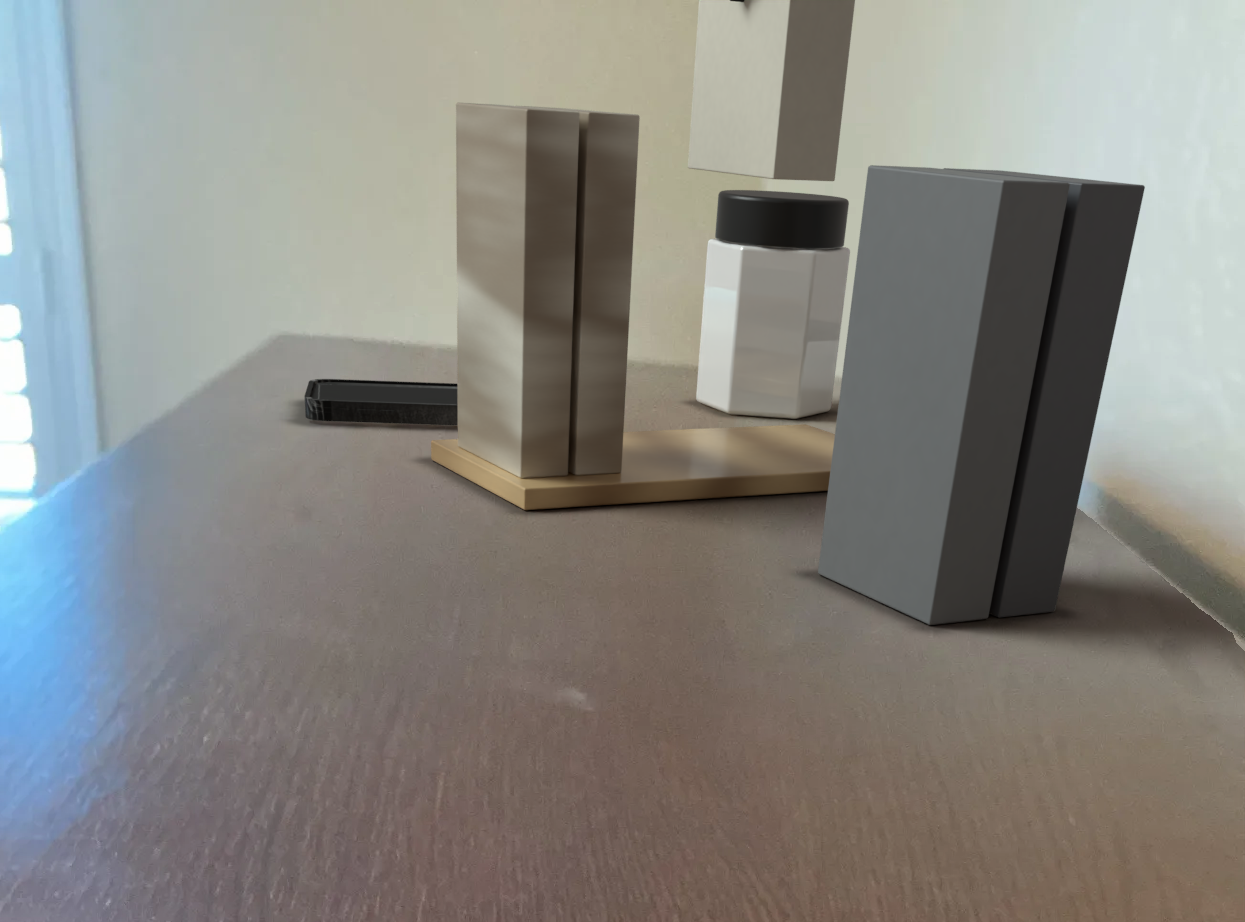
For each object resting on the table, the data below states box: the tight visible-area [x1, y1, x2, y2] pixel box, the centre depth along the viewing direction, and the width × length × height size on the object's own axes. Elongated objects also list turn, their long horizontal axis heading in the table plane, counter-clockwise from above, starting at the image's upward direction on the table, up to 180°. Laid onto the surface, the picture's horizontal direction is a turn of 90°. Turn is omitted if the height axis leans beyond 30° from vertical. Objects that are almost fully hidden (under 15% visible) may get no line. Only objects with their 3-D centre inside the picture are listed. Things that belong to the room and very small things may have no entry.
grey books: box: [817, 164, 1146, 626], centre depth 60 cm, size 6×8×15 cm
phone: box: [303, 378, 458, 427], centre depth 92 cm, size 8×1×15 cm
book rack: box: [430, 102, 835, 511], centre depth 78 cm, size 24×12×16 cm, turn 117°
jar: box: [695, 189, 851, 420], centre depth 98 cm, size 9×8×12 cm
